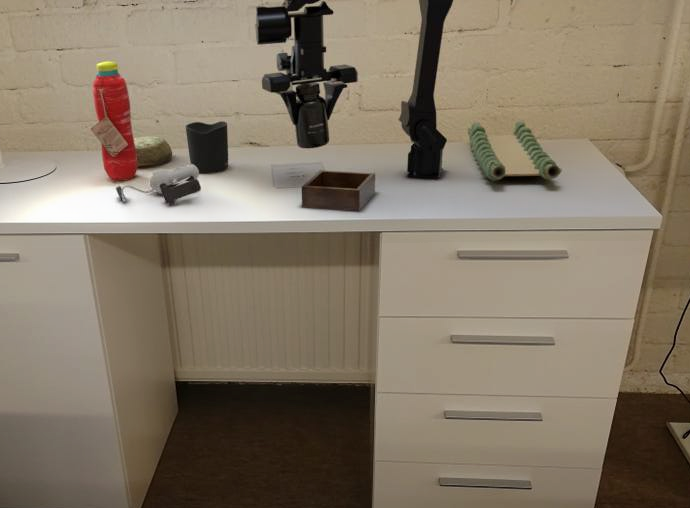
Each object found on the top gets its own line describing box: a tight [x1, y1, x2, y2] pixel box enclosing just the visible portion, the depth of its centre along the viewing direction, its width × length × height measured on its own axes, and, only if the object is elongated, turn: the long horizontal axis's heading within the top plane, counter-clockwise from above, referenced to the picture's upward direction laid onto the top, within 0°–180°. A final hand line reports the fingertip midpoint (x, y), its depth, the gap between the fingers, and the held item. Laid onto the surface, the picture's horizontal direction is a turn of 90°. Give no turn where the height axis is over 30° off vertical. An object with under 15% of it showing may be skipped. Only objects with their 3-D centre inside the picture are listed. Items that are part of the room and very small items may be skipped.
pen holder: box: [185, 120, 229, 174], centre depth 178 cm, size 9×9×10 cm
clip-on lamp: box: [115, 163, 202, 206], centre depth 161 cm, size 12×6×18 cm
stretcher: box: [467, 120, 563, 182], centre depth 170 cm, size 41×14×5 cm, turn 173°
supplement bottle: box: [294, 82, 330, 149], centre depth 159 cm, size 7×7×12 cm
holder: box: [301, 170, 376, 212], centre depth 154 cm, size 12×12×4 cm
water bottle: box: [90, 61, 139, 182], centre depth 171 cm, size 12×8×25 cm, turn 164°
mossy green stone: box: [133, 136, 173, 167], centre depth 188 cm, size 14×13×5 cm
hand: (311, 122), depth 160 cm, fingers closed on supplement bottle, 7 cm apart
